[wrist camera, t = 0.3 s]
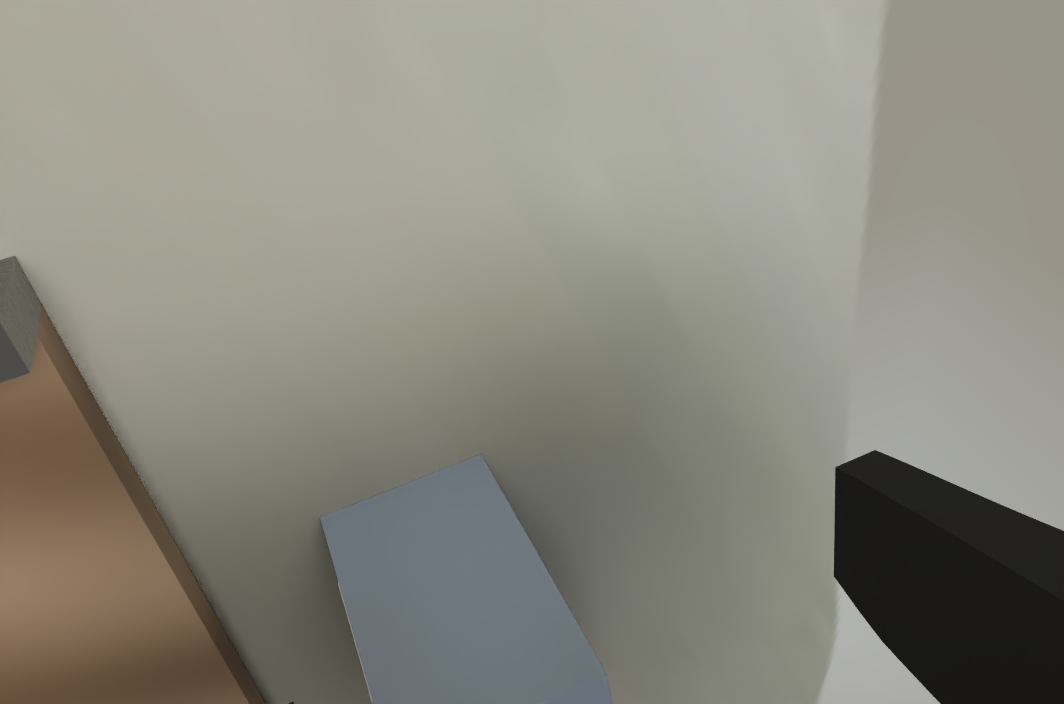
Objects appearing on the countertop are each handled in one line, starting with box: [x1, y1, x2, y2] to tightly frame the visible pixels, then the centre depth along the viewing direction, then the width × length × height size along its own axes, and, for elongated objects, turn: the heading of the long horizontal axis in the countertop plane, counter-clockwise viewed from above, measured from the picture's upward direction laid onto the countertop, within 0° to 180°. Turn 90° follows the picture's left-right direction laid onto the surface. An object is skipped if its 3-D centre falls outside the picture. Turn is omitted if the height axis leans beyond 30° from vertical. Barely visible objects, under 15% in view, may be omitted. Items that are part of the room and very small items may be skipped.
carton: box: [320, 454, 612, 704], centre depth 20 cm, size 4×6×7 cm
